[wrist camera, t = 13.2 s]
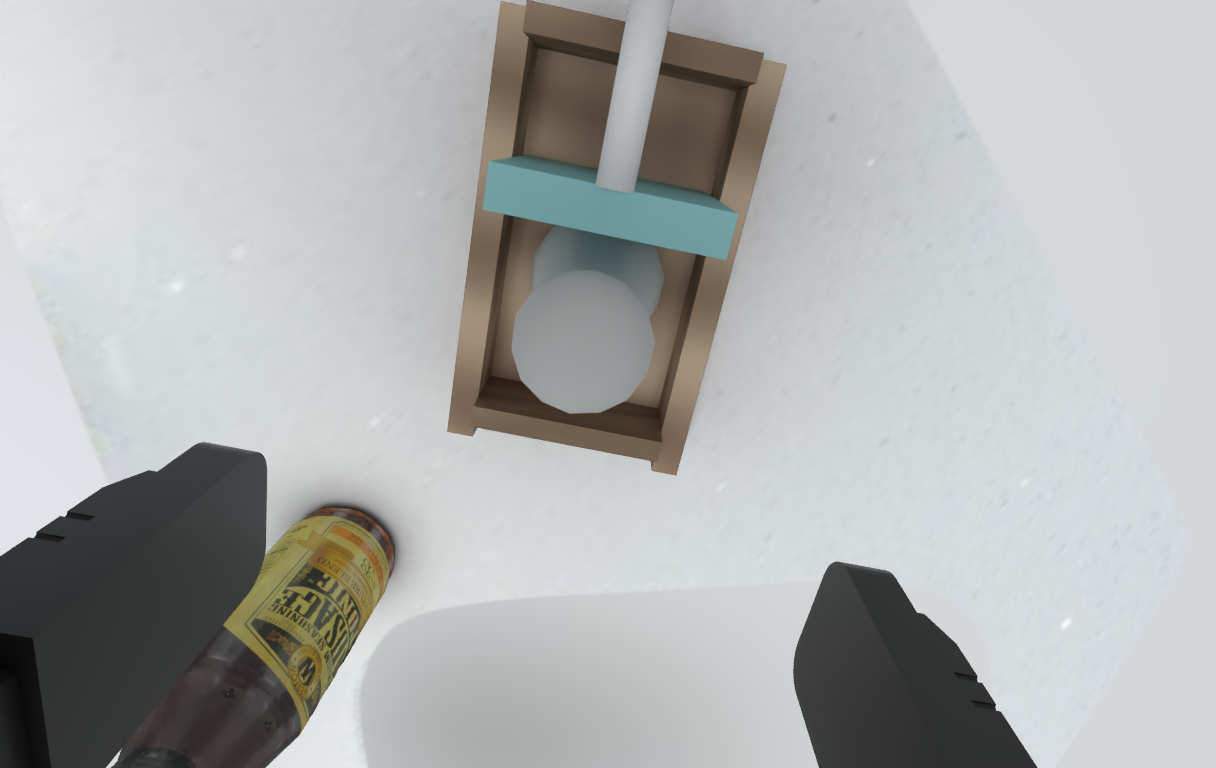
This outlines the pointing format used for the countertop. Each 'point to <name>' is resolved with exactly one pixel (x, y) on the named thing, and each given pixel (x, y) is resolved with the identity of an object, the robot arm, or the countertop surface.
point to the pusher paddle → (618, 166)
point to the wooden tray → (574, 133)
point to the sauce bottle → (272, 650)
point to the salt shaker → (587, 320)
